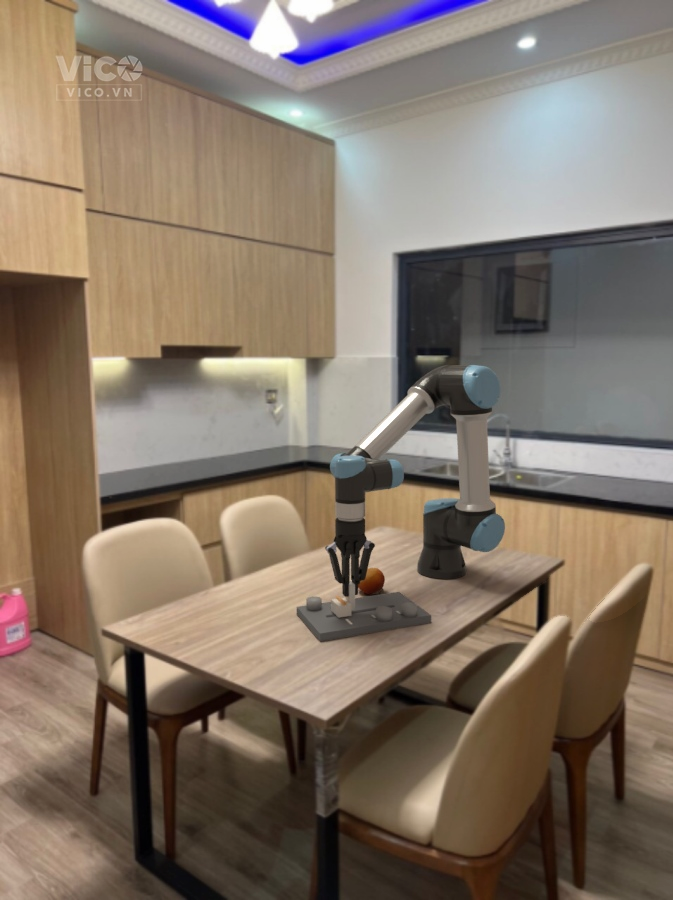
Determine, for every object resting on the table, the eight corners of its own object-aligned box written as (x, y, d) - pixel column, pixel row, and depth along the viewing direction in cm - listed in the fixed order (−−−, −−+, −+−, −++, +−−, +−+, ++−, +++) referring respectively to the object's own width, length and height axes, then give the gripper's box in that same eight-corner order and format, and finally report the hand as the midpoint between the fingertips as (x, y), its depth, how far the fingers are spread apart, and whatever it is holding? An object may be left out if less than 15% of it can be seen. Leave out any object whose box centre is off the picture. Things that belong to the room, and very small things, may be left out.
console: (398, 598, 181) (399, 583, 180) (431, 622, 164) (431, 606, 163) (296, 614, 170) (296, 598, 169) (319, 641, 153) (319, 623, 153)
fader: (343, 608, 167) (343, 595, 167) (351, 615, 163) (351, 602, 162) (331, 610, 166) (331, 597, 166) (338, 617, 161) (338, 604, 161)
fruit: (389, 593, 181) (374, 568, 181) (365, 605, 183) (351, 581, 183) (392, 583, 189) (378, 559, 189) (369, 595, 191) (356, 572, 191)
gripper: (367, 512, 168) (367, 599, 171) (320, 516, 163) (321, 606, 166) (380, 518, 161) (379, 609, 164) (331, 523, 156) (331, 616, 159)
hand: (350, 607), depth 165 cm, fingers closed
